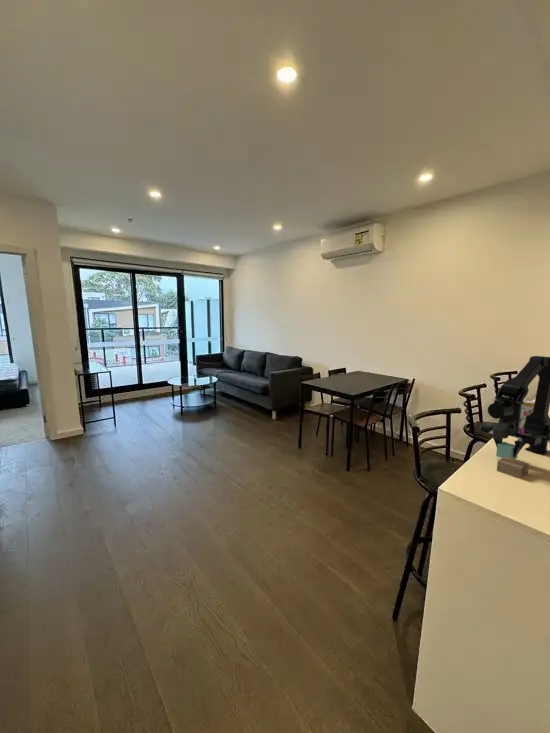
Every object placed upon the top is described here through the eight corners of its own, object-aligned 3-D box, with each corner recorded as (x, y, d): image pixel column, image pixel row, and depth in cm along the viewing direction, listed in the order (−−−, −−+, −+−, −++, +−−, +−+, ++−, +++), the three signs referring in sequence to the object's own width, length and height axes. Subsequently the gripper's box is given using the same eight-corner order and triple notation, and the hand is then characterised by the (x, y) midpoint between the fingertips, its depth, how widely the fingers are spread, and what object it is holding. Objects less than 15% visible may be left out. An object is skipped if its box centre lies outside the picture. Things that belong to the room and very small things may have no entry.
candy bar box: (515, 435, 153) (519, 402, 151) (510, 432, 158) (513, 399, 156) (542, 437, 151) (546, 403, 148) (535, 434, 155) (539, 401, 153)
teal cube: (502, 453, 127) (504, 441, 127) (517, 458, 123) (518, 445, 122) (496, 456, 125) (497, 443, 124) (510, 460, 120) (511, 448, 120)
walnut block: (505, 467, 118) (506, 456, 118) (527, 474, 113) (529, 463, 112) (496, 471, 115) (497, 460, 114) (519, 479, 109) (520, 468, 108)
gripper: (473, 412, 126) (470, 450, 128) (529, 425, 110) (524, 468, 112) (489, 408, 131) (485, 445, 133) (544, 420, 115) (539, 461, 117)
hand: (506, 454), depth 124 cm, fingers closed on teal cube, 5 cm apart
